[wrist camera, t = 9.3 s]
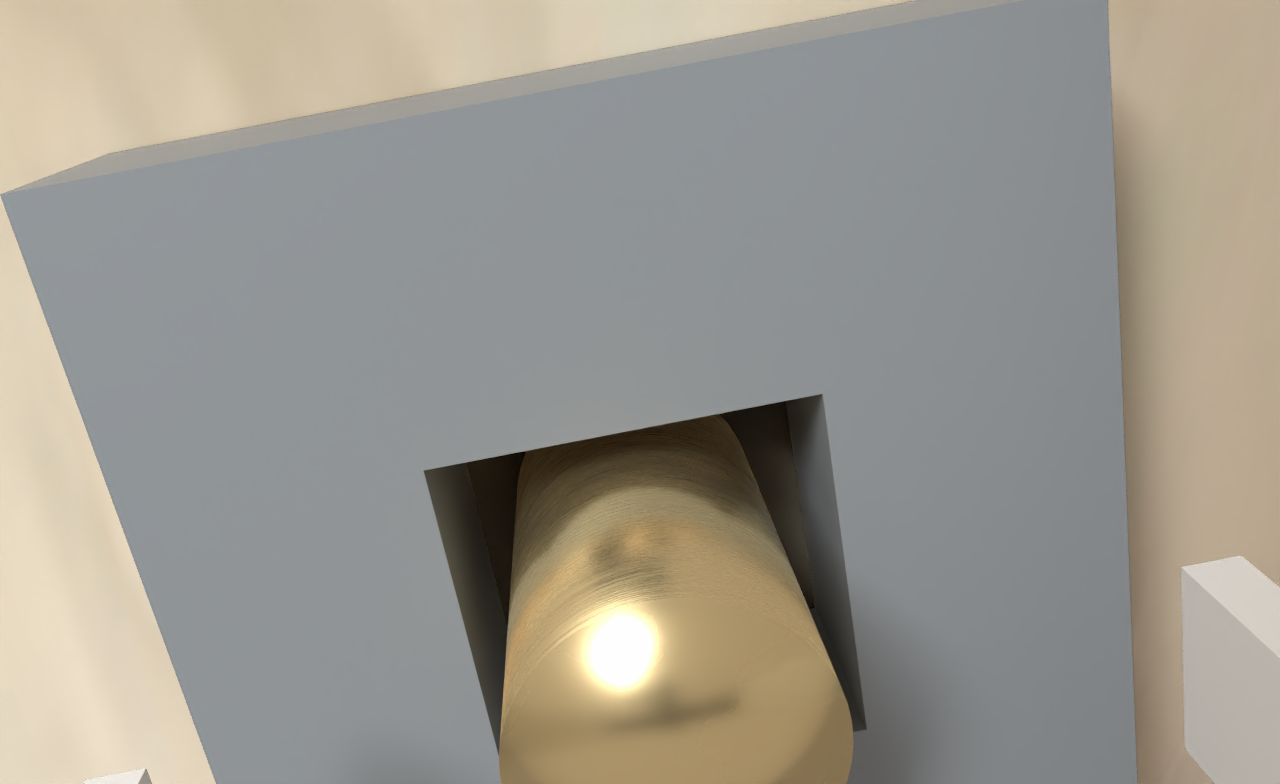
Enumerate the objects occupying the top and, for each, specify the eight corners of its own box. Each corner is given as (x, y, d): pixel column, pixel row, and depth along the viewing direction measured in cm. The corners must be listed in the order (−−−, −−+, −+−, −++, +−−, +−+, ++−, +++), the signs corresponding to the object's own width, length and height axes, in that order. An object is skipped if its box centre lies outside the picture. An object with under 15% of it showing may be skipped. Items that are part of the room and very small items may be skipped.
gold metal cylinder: (493, 408, 21) (460, 642, 14) (729, 360, 21) (829, 566, 14) (545, 616, 23) (541, 930, 15) (766, 570, 23) (872, 863, 15)
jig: (108, 153, 19) (0, 195, 15) (998, -16, 19) (1106, -16, 16) (357, 905, 25) (322, 1072, 21) (1052, 769, 25) (1142, 911, 21)
